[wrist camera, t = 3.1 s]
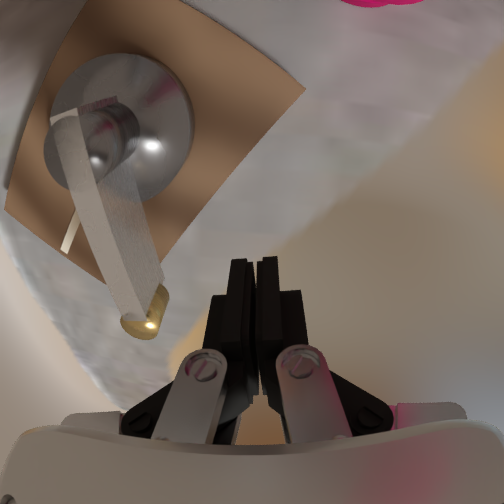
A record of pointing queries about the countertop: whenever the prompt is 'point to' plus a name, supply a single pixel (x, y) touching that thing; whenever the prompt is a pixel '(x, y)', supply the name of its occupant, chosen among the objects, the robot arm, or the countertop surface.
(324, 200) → the countertop surface
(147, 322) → the dial
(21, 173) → the walnut board
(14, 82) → the countertop surface
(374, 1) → the pepper mill
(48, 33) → the countertop surface
